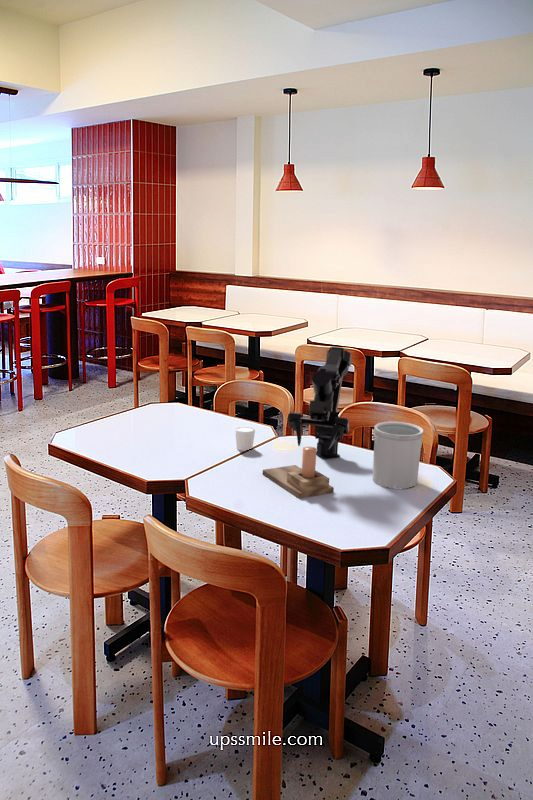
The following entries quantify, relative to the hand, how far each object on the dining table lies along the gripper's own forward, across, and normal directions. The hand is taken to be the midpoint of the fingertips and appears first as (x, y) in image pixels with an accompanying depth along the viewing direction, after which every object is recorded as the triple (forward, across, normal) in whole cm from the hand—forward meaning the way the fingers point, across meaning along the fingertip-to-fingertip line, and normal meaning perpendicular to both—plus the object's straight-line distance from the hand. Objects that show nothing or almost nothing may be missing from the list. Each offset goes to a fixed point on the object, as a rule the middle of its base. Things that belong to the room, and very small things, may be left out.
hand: (313, 447), depth 206 cm
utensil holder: (+1, +24, +16) cm, 29 cm away
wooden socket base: (+9, -4, +7) cm, 12 cm away
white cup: (-10, -29, +26) cm, 41 cm away
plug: (+11, 0, +3) cm, 11 cm away
